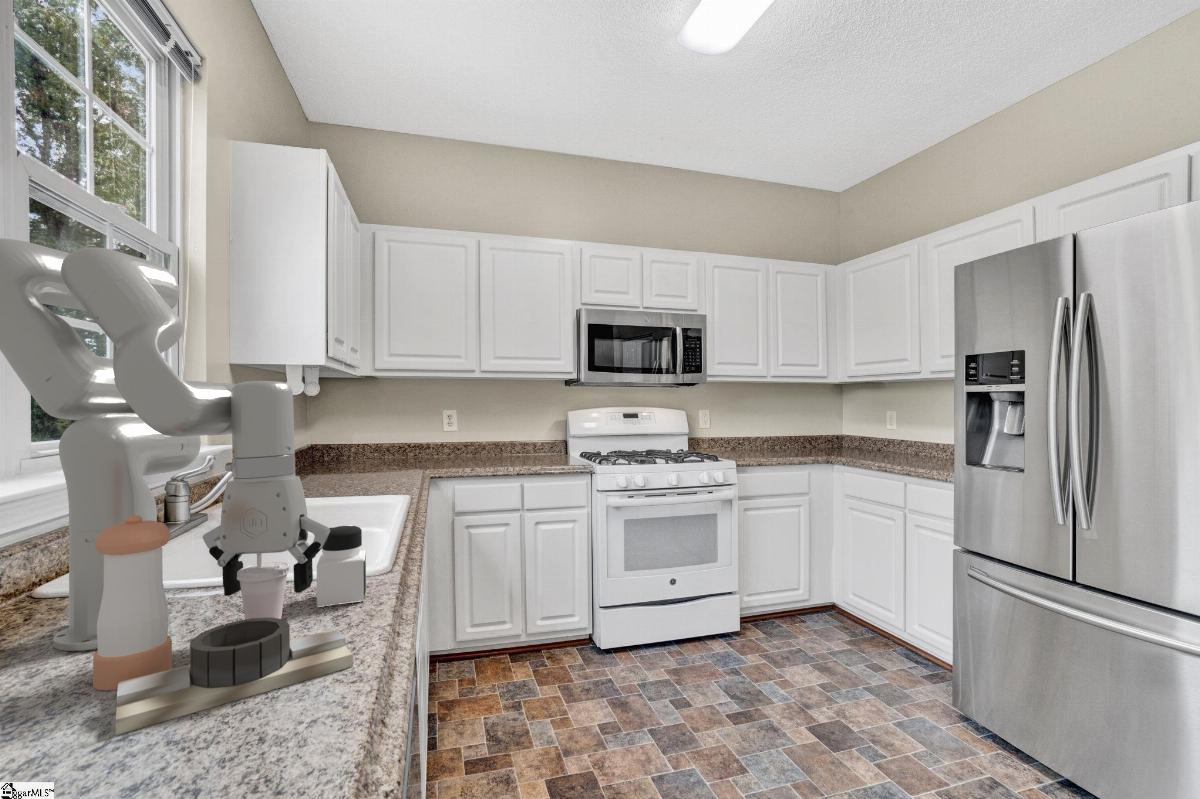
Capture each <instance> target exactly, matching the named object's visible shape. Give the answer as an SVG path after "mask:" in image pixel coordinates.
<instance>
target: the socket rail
mask: <svg viewBox="0 0 1200 799" xmlns="http://www.w3.org/2000/svg"><path fill="white" fill-rule="evenodd" d="M290 627H291V626H290V624H289V622H288V621H287V620H286V619H283V618H281V619H278V618H272V617H271V618H269V617H268V618H254V619H249V620H247V619H245V618H244V619H240V620H237V621H232V622H227V623H225V624H221V625H218V626H215V627H213V628H209V629H207V630H204V631H203V632H201V633H199V634H198V635H196V636H195V637H193V638H192V639H191V640H190V641H189V653H190V654H189V662H190V663H189V664H187V665H182V666H180V667H176V668H171V669H170V670H166V671H162V672H158V673H154V674H150V675H146V676H142V677H138V678H134V679H130V680H126V681H121V682H119V684H118V690H116V691H117V692H116V694H117V695H116V713H115V736H118V735H122V734H125V733H129V732H131V731H135V730H139V729H142V728H143V729H144V728H145V727H149V726H152V725H153V726H154V725H156V724H159V723H163V722H167V721H169V720H174V719H177V718H180V717H184V716H186V715H187V716H188V715H190V714H194V713H198V712H201V711H204V710H208V709H211V708H214V707H217V706H221V705H225V704H229V703H231V702H232V703H233V702H235V701H238V700H241V699H245V698H248V697H252V696H256V695H259V694H262V693H266V692H269V691H274V690H277V689H279V688H284V687H287V686H290V685H294V684H298V683H301V682H304V681H308V680H311V679H315V678H318V677H321V676H325V675H328V674H330V673H334V672H339V671H341V670H344V669H345V670H346V669H349V668H352V667H354V654H353V653H352V651H351V650H350V649H349V648H348V647H347V646H346V637H345V636H344V635H343V634H342V633H341V631H339V630H338V629H335V630H332V629H329V630H325V631H320V632H318V633H313V634H310V635H309V634H308V635H305V636H301V637H298V638H294V639H291V637H290V635H291V634H290Z"/></svg>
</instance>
